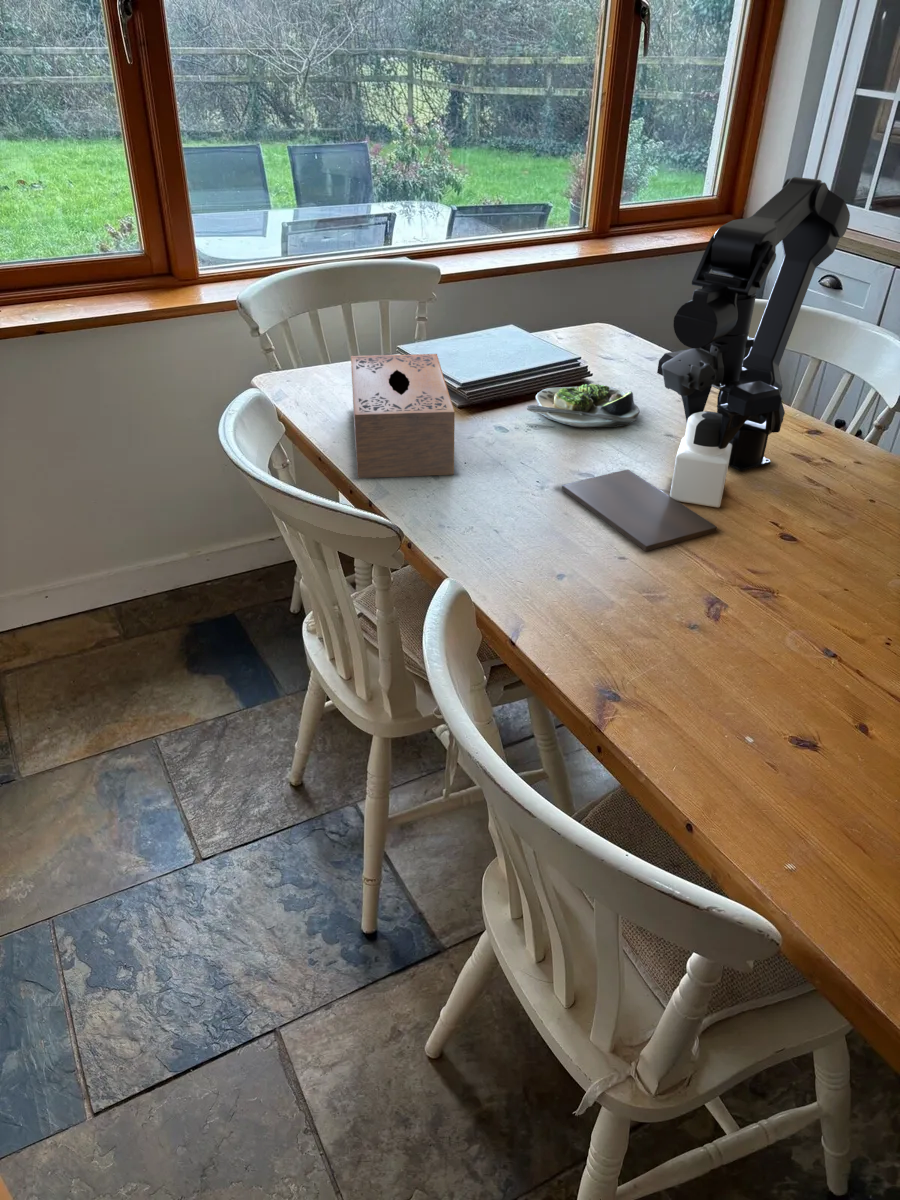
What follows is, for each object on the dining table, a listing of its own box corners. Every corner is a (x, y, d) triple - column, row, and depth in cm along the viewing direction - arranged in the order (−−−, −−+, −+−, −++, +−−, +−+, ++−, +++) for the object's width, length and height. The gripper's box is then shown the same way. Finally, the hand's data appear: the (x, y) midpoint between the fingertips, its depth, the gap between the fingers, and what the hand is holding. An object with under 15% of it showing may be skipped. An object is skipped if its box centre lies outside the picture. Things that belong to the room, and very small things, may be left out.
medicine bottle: (723, 487, 134) (739, 410, 128) (719, 508, 129) (735, 429, 122) (675, 480, 136) (687, 404, 130) (668, 500, 131) (681, 422, 124)
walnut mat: (627, 474, 138) (628, 469, 137) (716, 531, 123) (717, 526, 123) (561, 489, 133) (561, 484, 133) (645, 551, 118) (646, 546, 118)
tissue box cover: (353, 412, 157) (350, 355, 151) (436, 410, 158) (436, 353, 153) (357, 478, 135) (354, 414, 130) (453, 474, 137) (454, 411, 131)
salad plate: (537, 436, 149) (539, 409, 147) (513, 397, 164) (515, 372, 161) (649, 430, 152) (653, 404, 149) (616, 392, 167) (619, 367, 164)
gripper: (633, 318, 123) (620, 426, 131) (728, 359, 109) (706, 477, 118) (697, 308, 127) (680, 413, 136) (796, 346, 113) (770, 461, 122)
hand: (706, 439), depth 128 cm, fingers closed on medicine bottle, 6 cm apart
